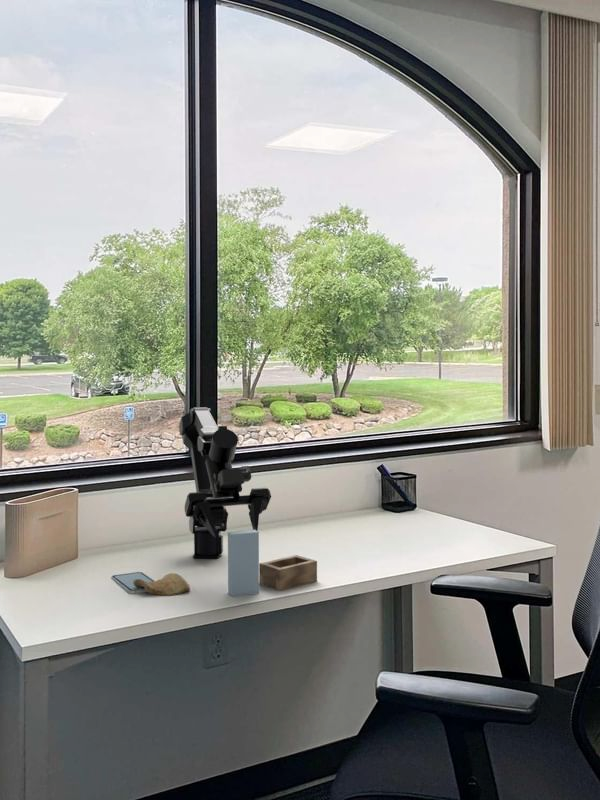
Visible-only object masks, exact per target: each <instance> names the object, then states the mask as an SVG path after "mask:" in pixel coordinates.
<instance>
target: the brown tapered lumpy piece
mask: <svg viewBox="0 0 600 800" xmlns="http://www.w3.org/2000/svg"><path fill="white" fill-rule="evenodd" d="M133 584H134V586H135V587H137V588H145V589H146V591H147V592H148V593H149V594H153V595H159V596H167V597H168V596H169V597H170V596H176V595H180V594H182V593H185V592H190V591H191V587H190V584H189V583H188V581H186V580H185V579H184V577H183V576H181V575H180V574H178V573H176V572H175V573H174V572H170V573H167V574H165V575H164V576H163V577H162V578H160V579H157V580H154V582H145V581H143V580H142V579H136V580H134V581H133ZM147 592H146V593H147Z"/></svg>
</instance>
